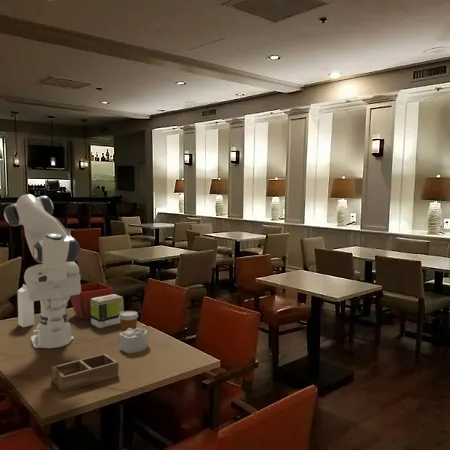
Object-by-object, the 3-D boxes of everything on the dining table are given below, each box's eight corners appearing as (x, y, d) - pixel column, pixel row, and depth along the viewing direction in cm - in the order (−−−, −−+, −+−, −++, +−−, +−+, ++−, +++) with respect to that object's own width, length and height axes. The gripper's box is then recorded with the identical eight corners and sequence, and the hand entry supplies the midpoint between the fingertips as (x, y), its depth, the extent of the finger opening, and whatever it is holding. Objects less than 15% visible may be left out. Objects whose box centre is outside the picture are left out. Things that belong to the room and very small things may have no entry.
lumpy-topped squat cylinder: (116, 348, 204) (116, 330, 203) (140, 341, 213) (139, 324, 212) (129, 354, 197) (129, 335, 196) (152, 347, 206) (152, 329, 205)
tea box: (115, 318, 249) (115, 293, 247) (124, 323, 241) (124, 296, 240) (90, 324, 238) (90, 297, 237) (99, 328, 231) (98, 301, 230)
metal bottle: (49, 328, 180) (49, 280, 178) (66, 328, 181) (66, 280, 179) (44, 333, 174) (43, 284, 172) (61, 333, 174) (61, 284, 172)
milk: (23, 327, 232) (21, 286, 230) (18, 324, 236) (16, 284, 234) (34, 324, 236) (33, 284, 234) (29, 322, 240) (28, 282, 238)
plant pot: (99, 308, 268) (98, 281, 266) (113, 316, 253) (112, 287, 252) (68, 314, 255) (67, 286, 254) (81, 322, 241) (80, 292, 239)
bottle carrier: (51, 381, 169) (51, 367, 169) (105, 366, 184) (104, 353, 183) (63, 392, 160) (62, 377, 160) (118, 375, 175) (118, 362, 174)
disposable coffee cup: (132, 341, 213) (132, 317, 212) (115, 338, 217) (115, 315, 215) (142, 334, 222) (141, 311, 221) (125, 332, 226) (125, 309, 224)
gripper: (77, 270, 184) (77, 302, 186) (26, 276, 171) (27, 310, 172) (83, 272, 179) (83, 305, 181) (31, 279, 166) (32, 314, 167)
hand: (55, 308), depth 176 cm, fingers closed on metal bottle, 6 cm apart
